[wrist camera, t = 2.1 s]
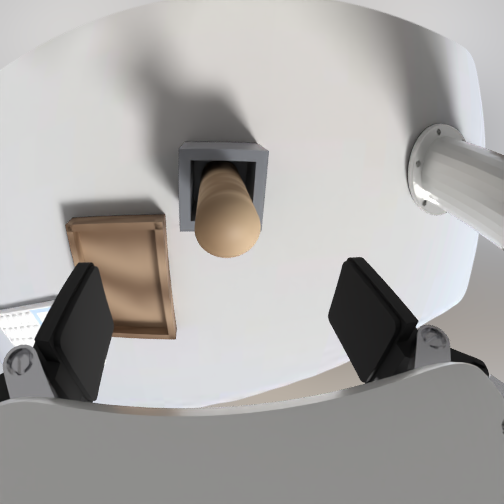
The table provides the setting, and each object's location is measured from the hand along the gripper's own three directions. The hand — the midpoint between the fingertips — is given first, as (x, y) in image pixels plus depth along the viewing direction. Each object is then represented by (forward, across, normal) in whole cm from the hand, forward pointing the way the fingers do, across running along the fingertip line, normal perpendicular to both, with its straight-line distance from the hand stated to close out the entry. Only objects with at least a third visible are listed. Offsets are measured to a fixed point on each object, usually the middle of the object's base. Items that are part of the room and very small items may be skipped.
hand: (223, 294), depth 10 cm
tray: (+18, +10, +12) cm, 24 cm away
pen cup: (+18, -1, 0) cm, 18 cm away
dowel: (+18, -1, 0) cm, 18 cm away
